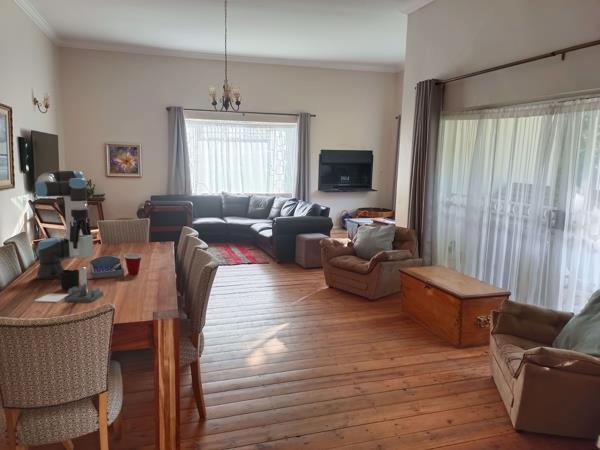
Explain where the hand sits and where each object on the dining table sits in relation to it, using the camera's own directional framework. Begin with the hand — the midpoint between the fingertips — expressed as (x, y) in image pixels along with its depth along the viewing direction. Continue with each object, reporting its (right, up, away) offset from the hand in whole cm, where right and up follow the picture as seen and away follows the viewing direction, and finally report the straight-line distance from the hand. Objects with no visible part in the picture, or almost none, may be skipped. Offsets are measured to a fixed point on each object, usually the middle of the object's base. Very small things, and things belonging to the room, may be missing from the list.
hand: (81, 253), depth 225 cm
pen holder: (-16, -21, +20) cm, 33 cm away
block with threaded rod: (0, -23, +3) cm, 24 cm away
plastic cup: (+7, -17, +52) cm, 55 cm away
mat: (-15, -23, +2) cm, 28 cm away
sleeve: (0, -1, 0) cm, 1 cm away
